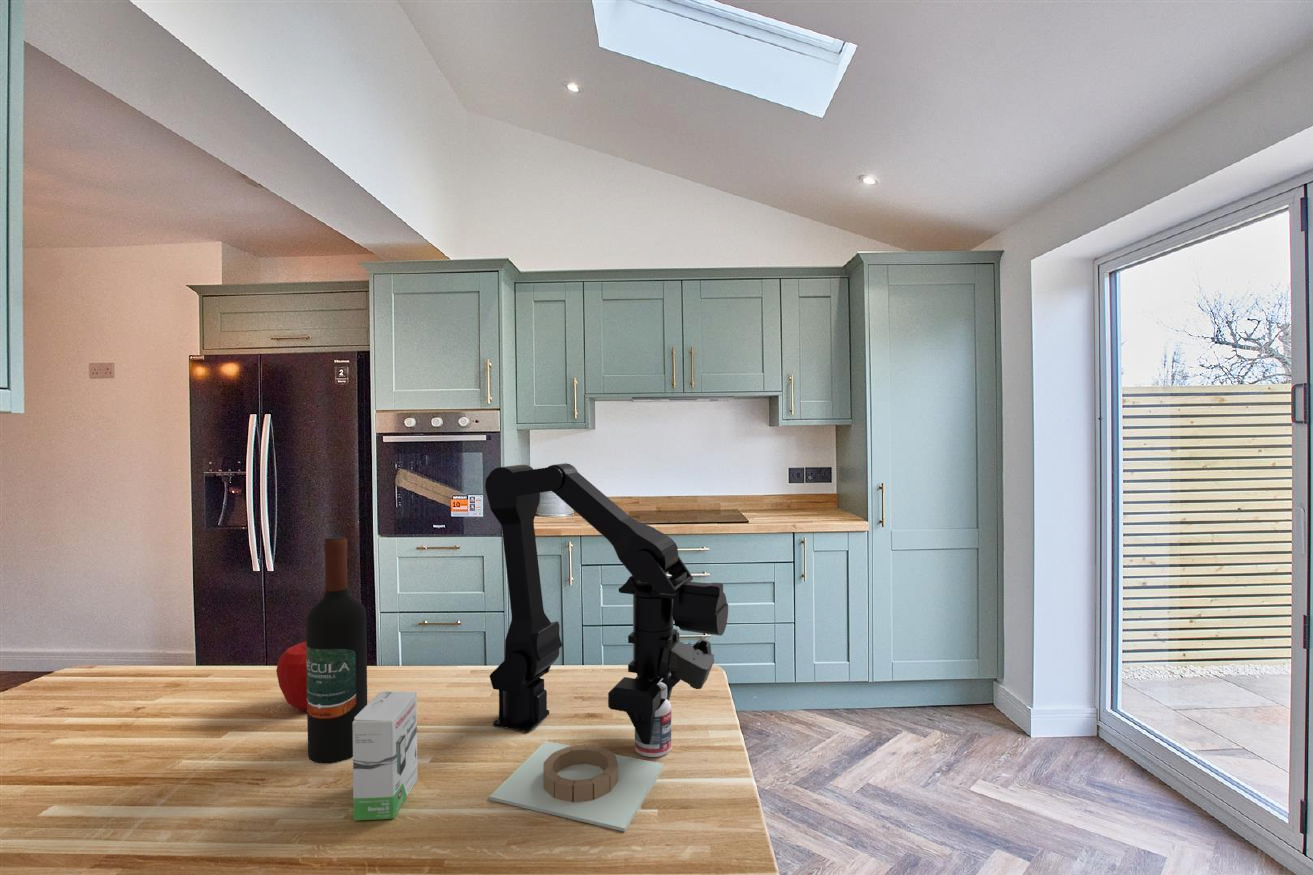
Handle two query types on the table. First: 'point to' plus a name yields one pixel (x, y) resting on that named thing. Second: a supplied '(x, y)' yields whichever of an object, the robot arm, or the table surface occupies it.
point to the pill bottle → (658, 730)
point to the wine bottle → (335, 662)
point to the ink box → (384, 755)
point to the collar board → (581, 811)
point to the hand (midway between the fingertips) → (652, 734)
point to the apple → (294, 676)
